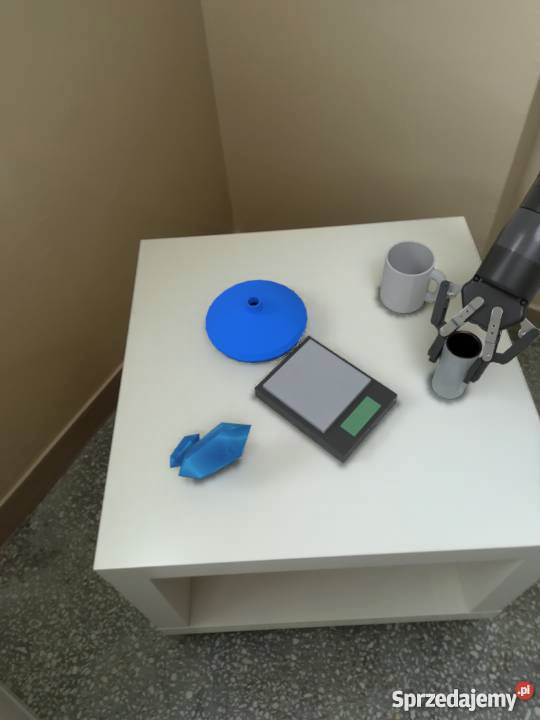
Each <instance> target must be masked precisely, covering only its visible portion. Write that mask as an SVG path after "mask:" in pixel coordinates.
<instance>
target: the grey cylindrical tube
mask: <svg viewBox="0 0 540 720" xmlns="http://www.w3.org/2000/svg"><path fill="white" fill-rule="evenodd" d="M482 353H483V342H482V341H481V339H480V338H479V336H478V335H476V334H475V333H473V332H472V331H469V330H463V329H461V330H459V329H458V330H457V331H455V332H452V333H451V334H449V335H448V337H447V338H446V341H445V344H444V347H443V350H442V353H441V356H440V357H439V359H438V360H437V365H436V367H435V371H434V373H433V376H432V380H431V388H432V390H433V392H434V393H435V394H436V396H439V397H440V398H442V399H446V400H453V399H457V398H459V397H460V396H461V395H463V394H464V391H465V389H466V387H467V386H468V385H467V384H466V383H464V382H463V380H464V378H465V377H466V375H467V374H468V372H469V371H470V369H471V368H472V366H473V364H474V363H475V361H476V360H477V359H478V358H479V357H481V355H482Z"/></svg>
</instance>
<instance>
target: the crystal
mask: <svg viewBox="0 0 540 720" xmlns="http://www.w3.org/2000/svg"><path fill="white" fill-rule="evenodd" d="M251 428H252V424H246V423H245V424H244V423H237V422H236V423H234V422H226V421H225V422H224V421H221V422H220V423H219V424H217V425H216V426H215V427H214V428H212V429H211V430H210V431H209V432H207V433H206V434H205V435H204V436H202V437H200V436H201V435H200V433H193V434H188V435H184V436H183V438H182V439H181V440H180V442H179V443H178V444H177V446H176V447H175V449H174V450H173V452H172V453H171V454H170V455H169V469H173V468H180V469H179V471H178V473H177V476H178V477H184V478H190V479H197V480H203V479H204V478H206V477H208V476H210V475H211V474H213V473H215V472H217V471H219V470H221V469H223V468H225V467H227V466H229V465H231V464H234V463H235V462H236V460H237V459H239V458H241V457H242V456H243V454H244V450H245V447H246V444H247V441H248V437H249V434H250V432H251Z"/></svg>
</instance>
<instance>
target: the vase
mask: <svg viewBox="0 0 540 720" xmlns="http://www.w3.org/2000/svg"><path fill="white" fill-rule="evenodd" d="M307 324H308V312H307V307H306V305H305V303H304V301H303V300H302V298H301V297H300V296H299V295H298V294H297V292H296V291H294V290H293V289H291V288H290V287H288V286H286V285H285V284H283V283H279V282H276V281H273V280H265V279H252V280H245V281H243V282H238V283H236V284H234V285H232V286H230V287H228V288H226V289H225V290H223V291H222V292H221V293H220V294H219V295H217V296H216V297H215V298H214V300H213V301H212V303H211V304H210V305H209V307H208V309H207V311H206V315H205V331H206V334H207V337H208V340H209V341H210V342H211V344H212V345H213V346H214V348H215V349H216V350H217V351H219V352H220V353H221V354H223V355H224V356H225V357H227V358H228V359H231V360H234V361H237V362H240V363H245V364H263V363H268V362H271V361H274V360H277V359H280V358H281V357H283V356H285V355H286V354H288V353H290V352H291V351H292V350H293V349H294V348H295V347H296V346H297V345H298V343H299V341H300V340H301V338H302V337H303V334H304V333H305V331H306V328H307Z"/></svg>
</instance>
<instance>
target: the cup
mask: <svg viewBox="0 0 540 720" xmlns="http://www.w3.org/2000/svg"><path fill="white" fill-rule="evenodd" d="M436 258H437V257H436V255H435V253H434V251H433V250H432V249H431V247H430V246H428V245H427V244H425V243H423V242H420V241H418V240H417V241H416V240H401V241H397V242H396V243H394V244H392V245H391V246H389V248H388V249H387V251H386V253H385V257H384V264H383V270H382V277H381V283H380V290H379V297H380V301H381V302H382V304H383V305H384V307H386V308H387V309H388V310H389V311H391V312H394V313H398V314H410V313H414V312H416V311H418V310H419V309H421V308H422V307H423V305H424V304H425V303H429V304H435V302H436V298H437V294H438V291H439V287H440V284H441V282H442V281H444V280H447V281H448V278H447V275H446V274H445V273H444V272H443V271H441V269H437V268H435V265H436V262H437V260H436ZM431 280H432V281H435V283H436V289H435V290H434V292H431V291H429V289H430V288H429V287H430V283H431Z"/></svg>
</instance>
